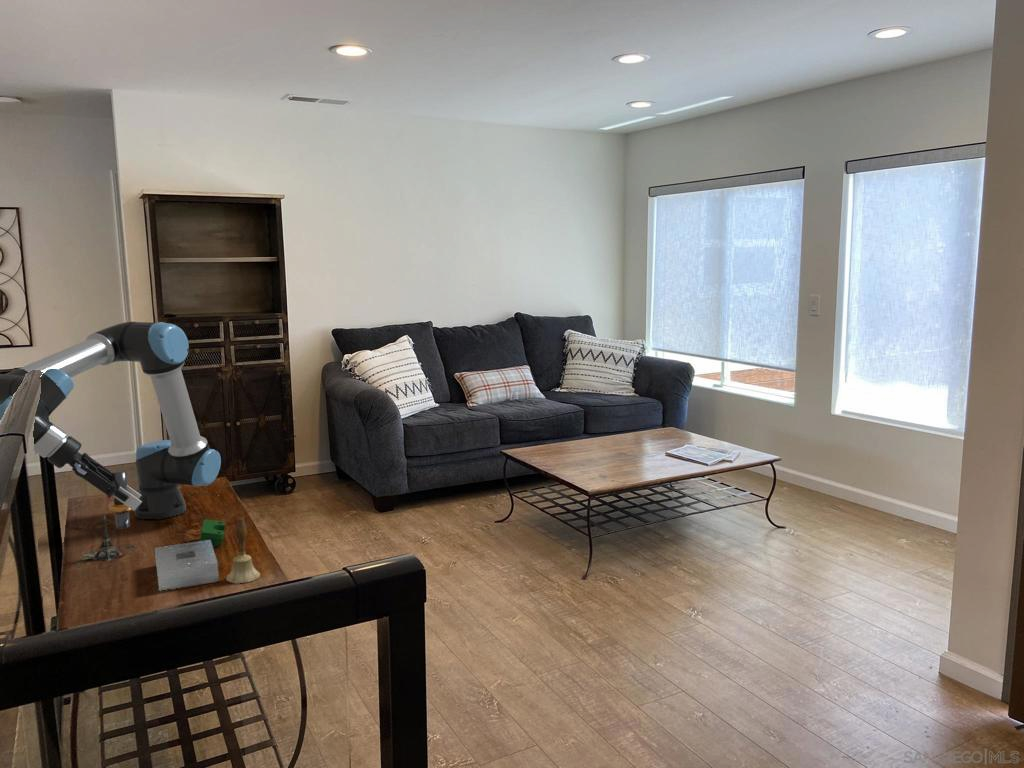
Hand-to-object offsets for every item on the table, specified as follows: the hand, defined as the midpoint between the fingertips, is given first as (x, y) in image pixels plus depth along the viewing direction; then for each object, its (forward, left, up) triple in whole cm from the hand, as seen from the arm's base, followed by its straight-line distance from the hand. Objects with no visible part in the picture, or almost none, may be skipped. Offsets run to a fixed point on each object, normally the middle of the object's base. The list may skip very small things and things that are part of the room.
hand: (137, 502), depth 198 cm
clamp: (-17, +18, -20) cm, 32 cm away
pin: (0, -4, -6) cm, 7 cm away
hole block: (+2, +10, -20) cm, 23 cm away
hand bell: (+11, +23, -20) cm, 33 cm away
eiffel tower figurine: (-20, -8, -21) cm, 30 cm away
